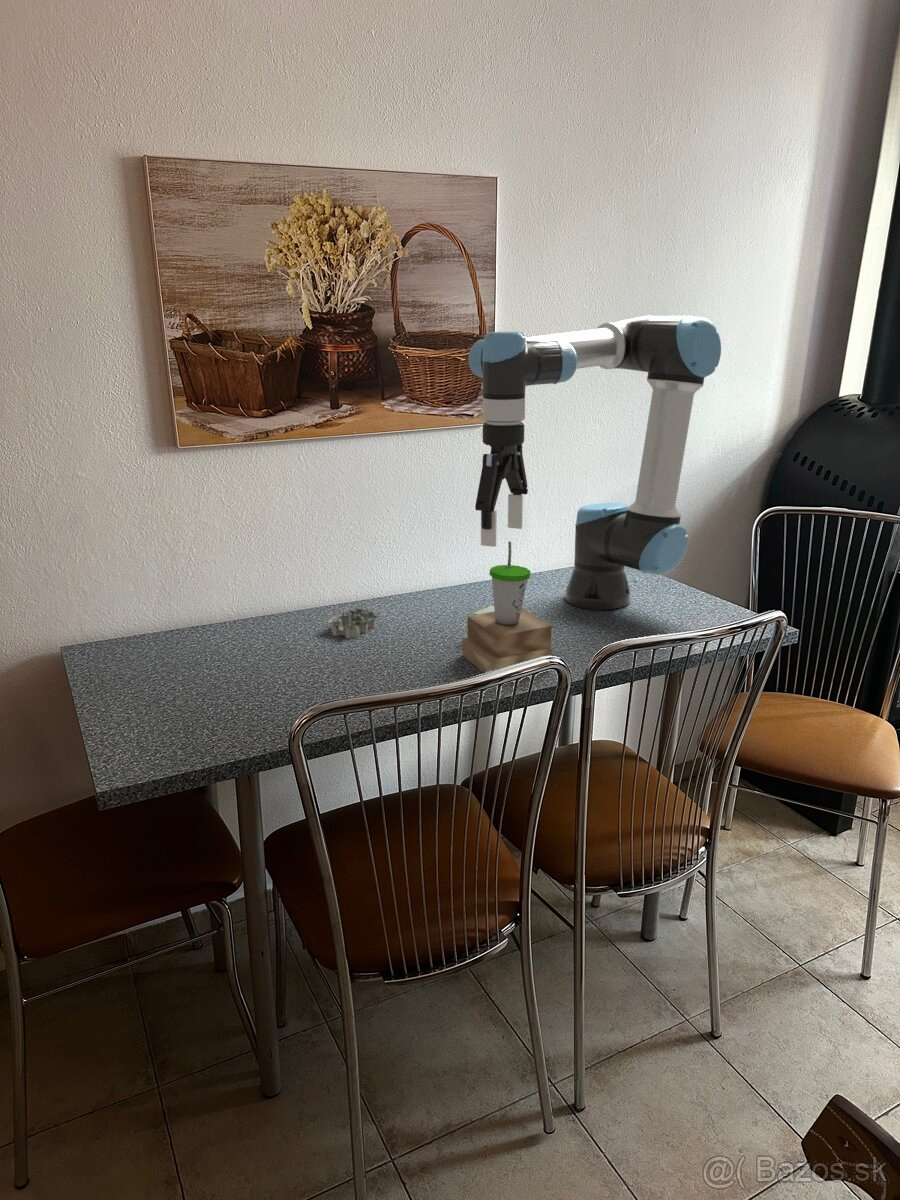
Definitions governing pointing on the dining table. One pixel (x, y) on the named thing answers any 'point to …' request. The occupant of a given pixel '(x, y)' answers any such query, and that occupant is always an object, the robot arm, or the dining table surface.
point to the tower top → (509, 634)
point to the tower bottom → (490, 662)
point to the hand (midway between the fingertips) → (502, 536)
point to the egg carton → (359, 625)
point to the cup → (508, 590)
